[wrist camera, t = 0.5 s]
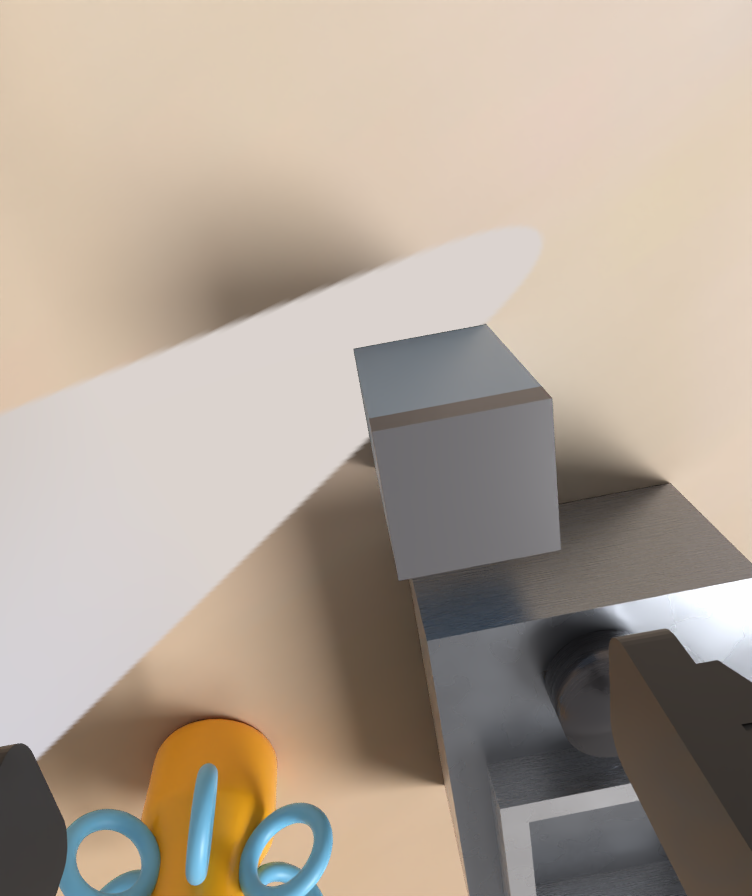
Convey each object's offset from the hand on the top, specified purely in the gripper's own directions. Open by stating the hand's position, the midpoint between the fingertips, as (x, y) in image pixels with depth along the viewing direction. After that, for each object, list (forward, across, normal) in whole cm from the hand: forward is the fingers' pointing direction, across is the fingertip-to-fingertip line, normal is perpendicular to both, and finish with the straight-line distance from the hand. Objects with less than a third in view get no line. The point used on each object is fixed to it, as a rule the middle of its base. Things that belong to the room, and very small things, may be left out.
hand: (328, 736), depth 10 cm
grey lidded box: (+19, -4, +2) cm, 20 cm away
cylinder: (+20, +9, +20) cm, 29 cm away
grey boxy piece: (+20, -8, +16) cm, 27 cm away
